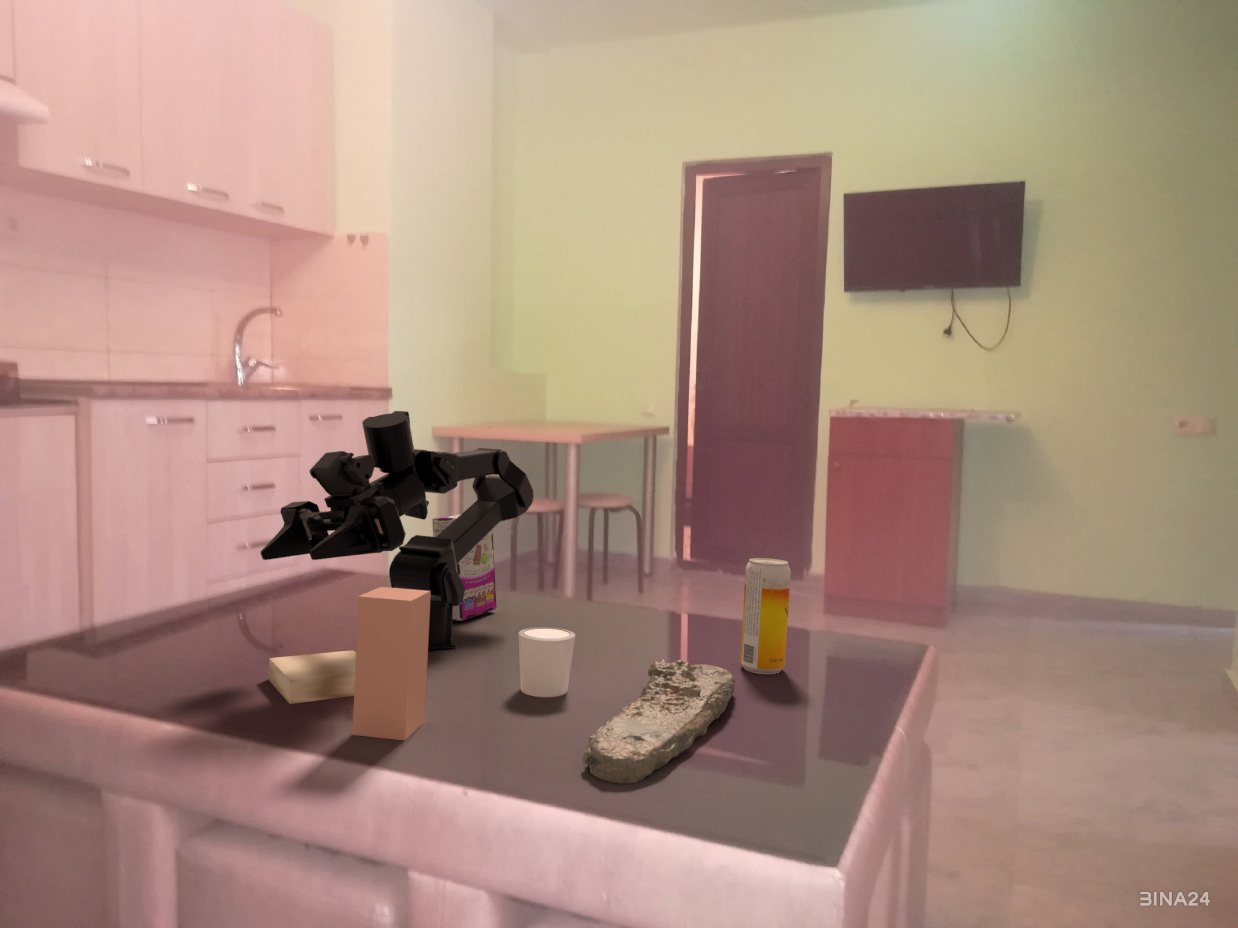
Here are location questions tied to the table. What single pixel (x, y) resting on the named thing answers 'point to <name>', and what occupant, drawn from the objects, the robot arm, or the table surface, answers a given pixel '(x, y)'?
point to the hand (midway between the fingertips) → (286, 556)
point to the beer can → (765, 615)
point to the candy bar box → (473, 575)
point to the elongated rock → (659, 721)
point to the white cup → (545, 660)
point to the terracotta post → (391, 662)
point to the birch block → (314, 676)
